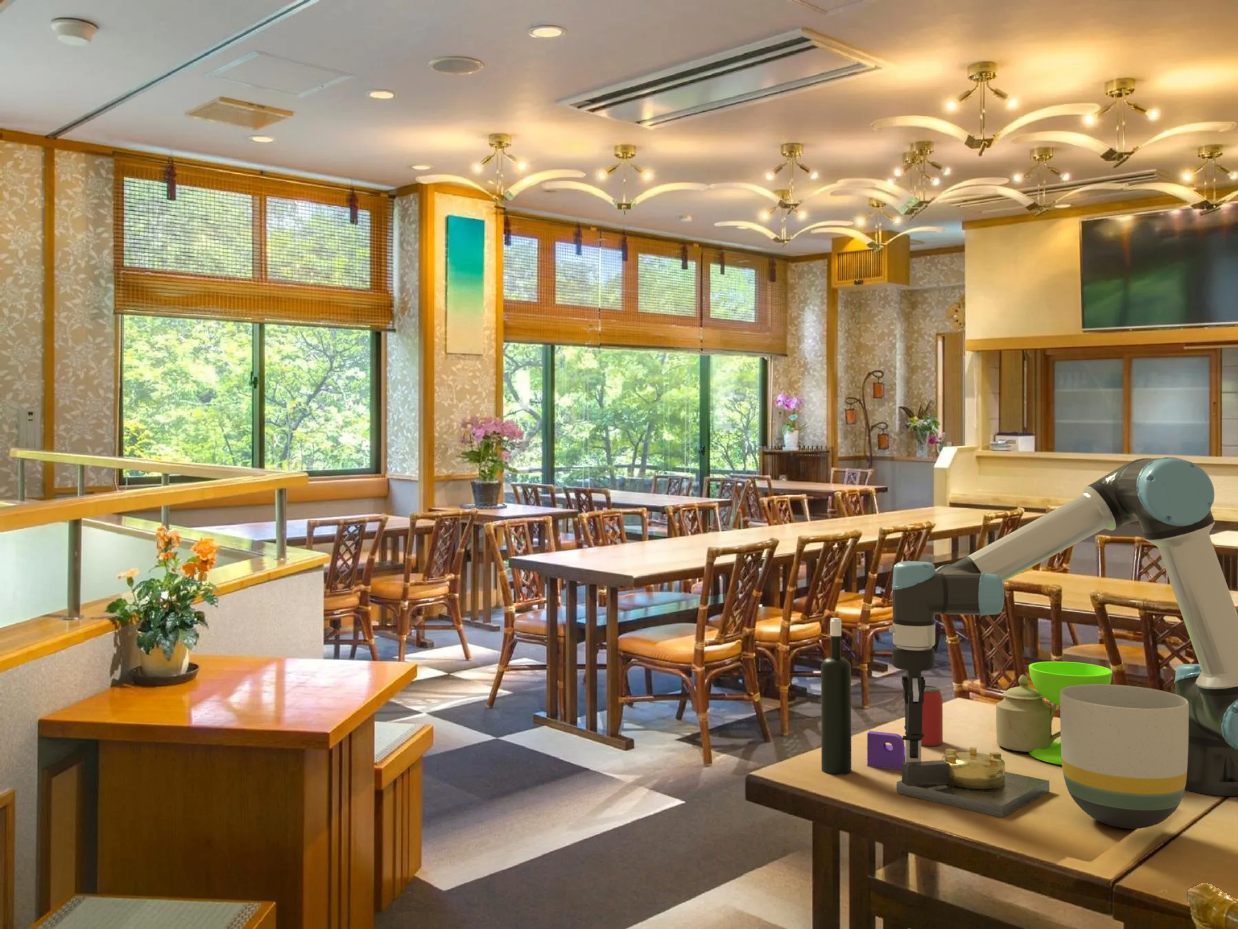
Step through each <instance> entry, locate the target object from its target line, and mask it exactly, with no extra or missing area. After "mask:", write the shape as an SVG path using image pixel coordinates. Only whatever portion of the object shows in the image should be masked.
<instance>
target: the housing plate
mask: <svg viewBox="0 0 1238 929" xmlns="http://www.w3.org/2000/svg"><path fill="white" fill-rule="evenodd" d="M1049 792H1050V780H1048V779H1044V778H1038V777H1033V776H1028V775H1022V774H1018V773H1014V772H1008V771H1005V784H1004V785H1003V786H1001V787H997V788H990V789H975V788H966V787H960V786H956V785H952V784H950V783H949V784H934V785H919V786H907V785H905V784H904V783H902V779H901V780H899V781H897V782H896V794H900V795H903V796H908V797H912V798H917V799H919V800H920V799H921V800H926V801H929V802H933V803H937V804H938V803H939V804H943V805H947V806H951V807H955V808H959V809H962V810H967V811H968V810H969V811H973V812H976V813H981V814H986V815H990V816H993V817H998V818H1004V817H1006V816H1007V815H1009V814H1011V813H1013V812H1015V811H1017V810H1019V809H1020V808H1022V807H1024V806H1026V805H1029V803H1031V802H1034V801H1035V800H1036V799H1038V798H1040V797H1042V796H1044V795H1047V794H1048V793H1049Z"/></svg>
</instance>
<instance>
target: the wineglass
mask: <svg viewBox="0 0 1238 929" xmlns="http://www.w3.org/2000/svg"><path fill="white" fill-rule="evenodd" d="M1028 672H1029V678H1030V679H1031V682H1032V684H1033V687H1034V689H1035V690H1037V691H1038V692H1039V693H1040V694H1041V695H1042V696H1043V697H1044V698H1043V699H1046V700H1047V701H1049V702H1050V703H1051V704H1053V703H1054V704H1056V705H1057V706H1059V707H1060V691H1061V690H1062V689H1063V688H1066V687H1069V686H1075V685H1087V684H1109V685H1111V683H1112V678H1113V670H1112V669H1110V668H1108V667H1105V666H1101V665H1097V664H1092V663H1083V662H1075V661H1074V662H1073V661H1071V662H1070V661H1039V662H1033V663H1030V664H1028ZM1028 754H1029V755H1030V756H1031V757H1033V758H1034V759H1037V760H1040V761H1043V762H1046V763H1050V764H1054V765H1061V766H1062V757H1061V740H1060V741H1055V740H1054V741H1053V742H1052V743H1051V747H1049V748H1047V749H1035V750H1033V751H1032V752H1028Z"/></svg>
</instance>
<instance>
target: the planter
mask: <svg viewBox="0 0 1238 929" xmlns="http://www.w3.org/2000/svg"><path fill="white" fill-rule="evenodd" d="M1059 712H1060V713H1059V717H1060V718H1059V722H1060V723H1059V724H1060V726H1059V727H1060V730H1059V731H1060V732H1061V736H1060V741H1061V757H1062V765H1061V768H1062V773H1063V774H1062V775H1063V779H1064V783H1065V786H1066V789H1067V791H1068V793H1069V795H1070V796H1071V798H1072V800H1073V801H1074V802H1075V803H1076V805H1077V806H1078V807H1079V808H1080V809H1081V810H1082V811H1083V812H1084V813H1085V814H1087V815H1088V816H1089V817H1091V818H1092V819H1094V820H1095V821H1098V822H1100V823H1102V824H1105V825H1108V826H1111V827H1115V828H1122V829H1129V830H1130V829H1132V830H1136V829H1146V828H1150V827H1153V826H1156V825H1158V824H1160V823H1162V822H1164V821H1165V820H1166V819H1168V818H1169V817H1170V816H1172V815H1173V813H1174V812H1176V810H1177V809H1178V808H1179V806H1180V805H1181V802H1182V799H1183V797H1184V793H1185V791H1186V790H1185V786H1186V778H1187V763H1188V728H1189V703H1188V701H1187V699H1185V698H1183V697H1181V696H1179V695H1176V694H1175V693H1172V692H1170V691H1169V692H1168V691H1164V690H1160V689H1155V688H1150V687H1141V686H1135V685H1134V686H1133V685H1122V684H1110V685H1109V684H1087V685H1075V686H1069V687H1066V688H1063V689H1062V690H1061V691H1060V706H1059Z"/></svg>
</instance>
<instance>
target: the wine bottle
mask: <svg viewBox="0 0 1238 929" xmlns="http://www.w3.org/2000/svg"><path fill="white" fill-rule="evenodd" d="M829 624H830V625H829V626H830V627H829V628H830V629H829V635H830V657H826V658H825V659H823V661H822V662H821V664H820V671H821V672H820V677H821V678H820V688H821V690H820V693H821V696H820V698H821V699H820V700H821V702H820V704H821V705H820V707H821V708H820V709H821V710H820V711H821V712H820V713H821V714H820V715H821V718H820V719H821V722H820V723H821V724H820V726H821V730H820V731H821V733H820V734H821V743H820V744H821V745H820V747H821V748H820V749H821V750H820V751H821V757H820V758H821V771H822V772H824V773H826V774H830V775H848V774H850V773H851V772H852V666H851V663H850V661H849V660H848V659H846V658H844V657H842V618H839V617H830V621H829Z"/></svg>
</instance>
